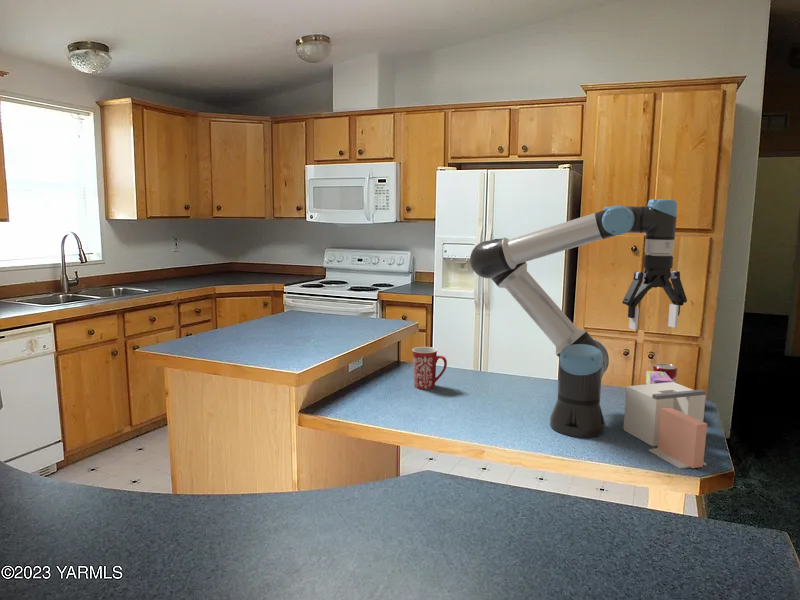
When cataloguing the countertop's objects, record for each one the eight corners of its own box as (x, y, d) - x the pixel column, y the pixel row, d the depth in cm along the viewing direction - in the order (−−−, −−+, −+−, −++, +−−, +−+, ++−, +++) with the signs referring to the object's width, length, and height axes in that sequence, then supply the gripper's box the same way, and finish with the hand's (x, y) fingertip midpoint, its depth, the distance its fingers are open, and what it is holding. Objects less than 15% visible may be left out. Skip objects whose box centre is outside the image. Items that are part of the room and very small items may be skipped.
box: (670, 418, 172) (674, 380, 170) (650, 417, 173) (653, 379, 171) (662, 407, 182) (665, 371, 180) (643, 405, 183) (646, 370, 181)
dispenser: (652, 446, 151) (656, 396, 149) (623, 429, 163) (626, 382, 160) (701, 440, 156) (706, 391, 153) (669, 424, 167) (673, 378, 165)
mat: (679, 468, 138) (680, 467, 138) (648, 450, 148) (648, 449, 148) (706, 465, 140) (706, 463, 140) (673, 447, 151) (673, 446, 151)
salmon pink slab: (693, 468, 138) (697, 425, 136) (657, 448, 149) (660, 408, 147) (702, 466, 138) (707, 423, 137) (666, 447, 150) (670, 407, 148)
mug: (407, 388, 199) (407, 350, 197) (417, 381, 207) (418, 345, 205) (440, 393, 194) (441, 355, 192) (450, 386, 202) (451, 349, 200)
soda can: (669, 398, 191) (672, 363, 189) (677, 405, 184) (681, 369, 182) (647, 397, 192) (650, 362, 190) (654, 404, 184) (657, 368, 183)
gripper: (630, 256, 153) (624, 332, 157) (704, 254, 160) (698, 328, 164) (612, 254, 161) (607, 327, 164) (684, 253, 167) (678, 323, 171)
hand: (652, 328), depth 164 cm, fingers open, 13 cm apart
